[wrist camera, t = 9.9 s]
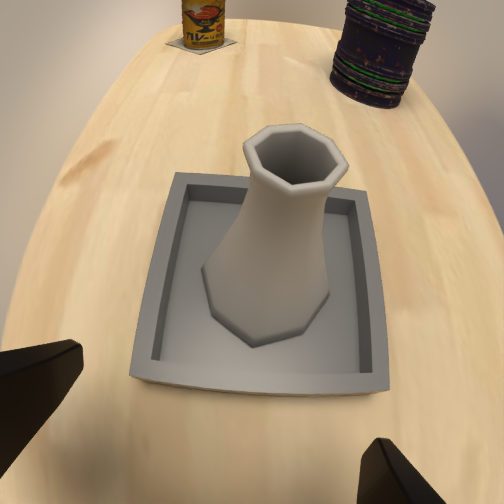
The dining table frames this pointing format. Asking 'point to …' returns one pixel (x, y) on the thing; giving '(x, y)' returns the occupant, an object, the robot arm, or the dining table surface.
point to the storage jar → (379, 49)
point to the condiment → (202, 26)
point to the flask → (276, 237)
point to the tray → (232, 346)
